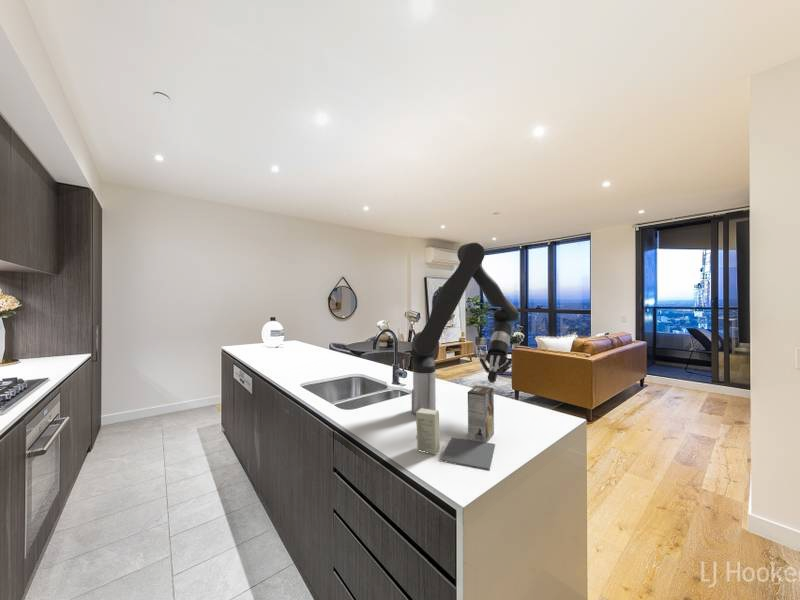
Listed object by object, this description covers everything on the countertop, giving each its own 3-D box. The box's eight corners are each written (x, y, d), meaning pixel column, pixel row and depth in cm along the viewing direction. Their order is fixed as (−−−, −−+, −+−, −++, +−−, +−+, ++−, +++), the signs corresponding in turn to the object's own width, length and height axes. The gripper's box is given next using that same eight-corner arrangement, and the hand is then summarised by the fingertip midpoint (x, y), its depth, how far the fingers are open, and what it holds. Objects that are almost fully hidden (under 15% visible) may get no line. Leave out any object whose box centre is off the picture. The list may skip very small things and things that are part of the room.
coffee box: (476, 429, 114) (476, 385, 114) (494, 433, 110) (494, 387, 110) (467, 439, 106) (467, 391, 106) (486, 444, 103) (486, 394, 103)
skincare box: (440, 449, 99) (440, 410, 99) (435, 455, 95) (435, 414, 95) (421, 445, 102) (420, 407, 102) (415, 451, 98) (415, 411, 98)
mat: (439, 460, 92) (439, 459, 92) (451, 438, 107) (451, 437, 107) (489, 470, 87) (489, 468, 87) (495, 445, 102) (495, 443, 102)
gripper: (481, 338, 130) (471, 374, 120) (514, 340, 124) (507, 378, 113) (485, 349, 135) (476, 384, 125) (517, 351, 128) (511, 389, 118)
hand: (491, 381), depth 119 cm, fingers closed
